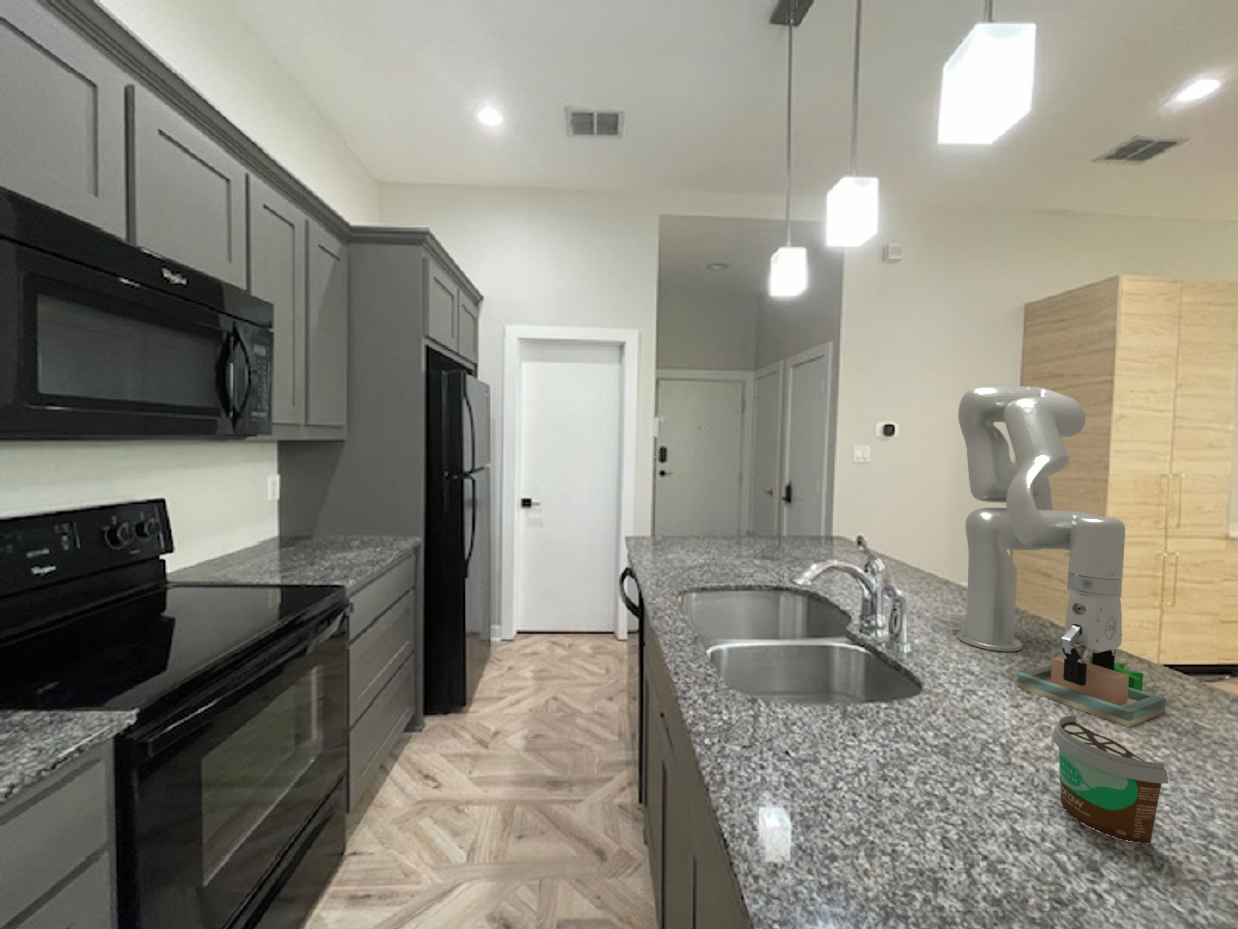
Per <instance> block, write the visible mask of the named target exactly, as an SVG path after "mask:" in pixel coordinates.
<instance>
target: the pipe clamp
mask: <svg viewBox="0 0 1238 929" xmlns="http://www.w3.org/2000/svg"><path fill="white" fill-rule="evenodd" d="M1088 663H1090V664H1092V656H1091V655H1090V656H1089V658H1088ZM1114 671H1117V672H1120V673H1124V674H1127V675H1129V682H1128V687H1131V688H1134V689H1137V690H1140V691H1143V684H1144V683H1143V682H1144V673H1142V672H1140V671H1134V670H1130V669H1126V668H1125V664H1124V663H1122V662H1115V664H1114Z"/></svg>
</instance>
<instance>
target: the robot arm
mask: <svg viewBox="0 0 1238 929" xmlns="http://www.w3.org/2000/svg"><path fill="white" fill-rule="evenodd" d="M957 411H958V412H957V413H958V417H957V418H958V424H959V427H960V430H961V433H962V436H963V438H964V439H963V440H964V442H965V448H966V457H967V470H968V471H967V472H968V480H969V481H968V482H969V488H970V490H969V491H970V494H971V495H972V497H974V499H976V500H977V501H981V502H985V503H998V504H999V503H1002V504H1003V503H1004V504H1005V503H1006V507H981V508H978V509H975V510H973V511H971V512H970V513H969V514H968V515H967V517H966V519H965V528H964V529H965V534H966V541H967V548H968V549H967V550H968V567H967V568H968V569H967V594H966V608H965V609H966V611H965V612H966V614H965V617H963V616H961V615H957V614H953V615H952V617H951V619H950V624H951V625H954V626H957V627H958V626H959V627H960V630H958V631H957V639H959V641H961V642H963V643H965V644H966V645H967V644H968V645H970V646H974V647H977V648H981V649H985V650H990V651H996V652H1008V653H1009V652H1017V651H1020V650H1021V649H1022V646H1023V645H1022V642H1021V641H1020V640H1019V639H1017V638H1015V621H1016V602H1017V601H1016V600H1017V583H1018V582H1017V581H1018V579H1017V578H1018V577H1017V576H1018V569H1017V566H1016V564H1015V562H1014V561H1013V559H1012V558H1011V556H1010V554H1009V553H1008V550H1009V551H1012V550H1015V551H1016V550H1017V551H1020V550H1021V551H1041V550H1062V551H1063V550H1064V551H1069V554H1068V570H1067V571H1068V572H1067V588H1066V589H1067V591H1069V594H1068V595H1069V596H1068V601H1067V607H1066V613H1065V614H1066V616H1065V622H1064V623H1065V624H1064V635H1063V636H1062V637H1061V644H1062V648H1061V649H1062V653H1063V655H1062V656H1063V658H1064V675H1063V678H1064V680H1066V681H1069V682H1072V683H1075V684H1078V685H1081V686H1084V685H1086V671H1087V664H1086V663H1084V662H1086V659H1087V658H1088V657H1087V656H1088V654H1089V652H1090V651H1091V652H1092V664H1094V665H1097V666H1100V667H1104V668H1107V669H1110V670H1114V664H1115V663H1116V662H1115V659H1116V656H1115V655H1116V654H1117V648H1119V647H1120V646H1122V639H1123V634H1122V633H1123V627H1122V626H1123V621H1122V620H1123V619H1122V615H1123V614H1122V602H1121V598H1122V590H1123V589H1122V588H1123V587H1122V586H1123V575H1124V574H1123V572H1124V556H1125V543H1126V542H1125V541H1126V540H1125V539H1126V525H1125V523H1124V522H1123V521H1122V520H1120V519H1117V518H1114V517H1109V516H1108V517H1107V516H1106V517H1105V516H1099V515H1095V514H1093V513H1090V512H1086V511H1078V510H1077V511H1075V510H1059V509H1058V510H1055V509H1053V500H1052V490H1051V484H1050V483H1051V482H1050V480H1049V477H1050V476H1053V475H1055V474H1056V473H1059V472H1061V471H1062V470H1065V469H1066V467H1067V466H1068V465H1069V463H1070V456H1069V453H1068V452H1067V448H1066V445H1065V444H1064V440H1063V438H1070V437H1071V438H1072V437H1074V436H1077V435H1078V434H1080V433H1081V432H1082V430H1083V429H1084V427H1085V426H1086V413H1085V410H1084V408H1083V406H1082V405H1081V403H1079V402H1078V401H1077V399H1075V398H1073V397H1070V396H1068V395H1066V394H1062V393H1059V392H1057V391H1054V390H1052V389H1048V388H1045V387H1040V386H1027V385H1026V386H1023V385H1022V386H1021V385H1019V386H1018V385H1016V386H1015V385H980V386H976V387H973V388H971V389H968V390H967V391H966V392H965V393H964V394H963V396H962V397H961V399H960V402H959V405H958V410H957ZM994 423H1005V427H1006V430H1007V432H1008V436H1009V440H1010V442H1011V446H1012V449H1013V453H1014V456H1015V459H1016V461H1017V462H1013V461H1012V460H1011V456H1010V444H1009V442H1008V440H1007V438H1006V437H1005V435H1004V434H1003V432H1002V431H1001V430H1000V429H999V428H998V427H997V426H995V424H994ZM1078 650H1079V651H1080V652H1079V651H1078Z"/></svg>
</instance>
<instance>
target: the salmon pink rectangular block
mask: <svg viewBox="0 0 1238 929" xmlns="http://www.w3.org/2000/svg"><path fill="white" fill-rule="evenodd" d="M1084 663H1086V664H1087V671H1086V685H1084V686H1081V685H1078V684H1075V683H1072V682H1069V681H1066V680H1064V678H1063V675H1064V658H1063V655H1060V656H1057V657H1053V658H1051V665H1052V669H1051V683H1054V684H1057V685H1060V686H1063V687H1066V688H1069V689H1071V690H1074V691H1077V692H1080V693H1083V694H1086V695H1089V696H1092V697H1095V698H1098V699H1101V700H1104V701H1107V702H1110V703H1112V704H1115V705H1118V706H1121V705H1124V704H1126V703H1127V699H1128V682H1129V675H1127V674H1124V673H1120V672H1117V671H1114V670H1110V669H1107V668H1104V667H1100V666H1097V665H1094V664H1090V663H1089V662H1087V661H1084Z"/></svg>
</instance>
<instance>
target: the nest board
mask: <svg viewBox="0 0 1238 929" xmlns="http://www.w3.org/2000/svg"><path fill="white" fill-rule="evenodd" d="M1051 669H1052V664H1049V665H1045V666H1043V667H1038V668H1035V669H1030V670H1027V671H1023V672H1019V673H1017V674H1016V675H1017V676H1016V687H1017V688H1019V689H1021V690H1024V691H1027V692H1030V693H1033V694H1035V695H1039V696H1041V697H1042V698H1043V697H1044V698H1046V699H1050V700H1052V701H1055V702H1058V703H1060V704H1062V705H1066V706H1068V707H1071V708H1074V709H1077V710H1078V711H1079V710H1080V711H1083V712H1084V711H1085V713H1087V712H1088V713H1087V714H1091V715H1093V716H1095V715H1096V717H1098V718H1101V719H1104V718H1105V719H1104V720H1106V719H1108V720H1107V721H1109V720H1110V721H1109V722H1112V723H1114V724H1118V725H1120V724H1121V725H1120V726H1123V727H1126V728H1130V727H1134V726H1135V725H1138V724H1141V723H1144V722H1147V721H1148V720H1150V718H1151V719H1153V718H1155V717H1158V716H1161V715H1162V714H1165V713H1166V706H1167V705H1166V703H1167V698H1166V697H1162V696H1158V695H1156V694H1153V693H1148V692H1146V691H1143V690H1142V691H1140V690H1137V689H1134V688H1131V687H1128V699H1127V703H1126V704H1124V705H1121V706H1118V705H1115V704H1112V703H1110V702H1107V701H1104V700H1101V699H1098V698H1095V697H1092V696H1089V695H1086V694H1083V693H1080V692H1077V691H1074V690H1071V689H1069V688H1066V687H1063V686H1060V685H1057V684H1054V683H1051Z"/></svg>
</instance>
